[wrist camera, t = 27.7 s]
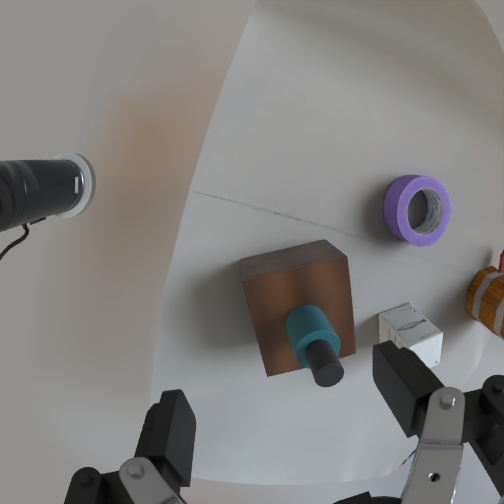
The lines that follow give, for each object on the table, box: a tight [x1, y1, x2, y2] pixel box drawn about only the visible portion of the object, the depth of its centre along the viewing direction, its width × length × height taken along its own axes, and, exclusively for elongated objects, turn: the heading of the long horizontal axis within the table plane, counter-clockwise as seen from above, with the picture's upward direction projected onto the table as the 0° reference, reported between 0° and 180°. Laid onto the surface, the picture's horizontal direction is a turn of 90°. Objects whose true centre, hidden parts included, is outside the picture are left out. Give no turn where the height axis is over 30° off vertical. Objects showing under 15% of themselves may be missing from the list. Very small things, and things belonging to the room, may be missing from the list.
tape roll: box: [384, 175, 451, 247], centre depth 44 cm, size 12×12×5 cm
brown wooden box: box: [241, 240, 356, 377], centre depth 44 cm, size 14×16×10 cm
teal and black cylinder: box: [286, 305, 344, 387], centre depth 34 cm, size 6×6×12 cm
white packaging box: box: [379, 303, 443, 369], centre depth 46 cm, size 7×7×13 cm
